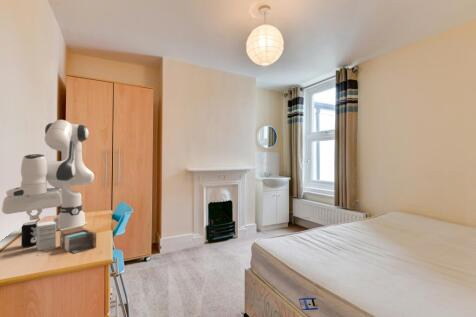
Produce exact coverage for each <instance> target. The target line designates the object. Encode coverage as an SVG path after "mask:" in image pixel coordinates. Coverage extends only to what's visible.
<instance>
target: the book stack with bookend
mask: <svg viewBox="0 0 476 317" xmlns="http://www.w3.org/2000/svg"><path fill="white" fill-rule="evenodd" d="M84 231H85V232H88V235H87V236H83V237H79V238H75V239H71V240H69V251H68V252H69V253H72V254H78V253H81V252H84V251H87V250H91V249H95V248H96V249H97V232H95V231H92V230H89V229H87V228H85V227H83V226H80V225H79V226H75V227H70V228H65V229H60V230H59V235H60V236H59V247H60V248H61V249H62V248H63V249H65V236H68V235H72V234H76V233H80V232H84Z"/></svg>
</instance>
